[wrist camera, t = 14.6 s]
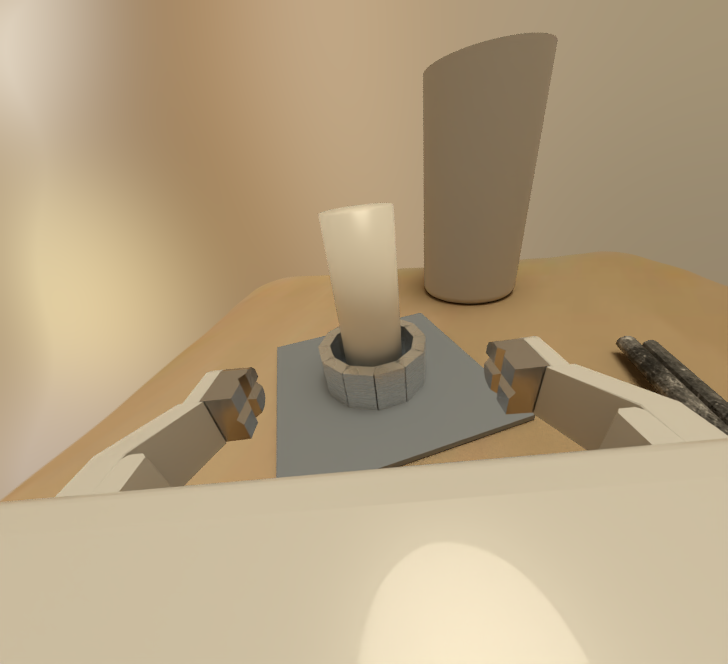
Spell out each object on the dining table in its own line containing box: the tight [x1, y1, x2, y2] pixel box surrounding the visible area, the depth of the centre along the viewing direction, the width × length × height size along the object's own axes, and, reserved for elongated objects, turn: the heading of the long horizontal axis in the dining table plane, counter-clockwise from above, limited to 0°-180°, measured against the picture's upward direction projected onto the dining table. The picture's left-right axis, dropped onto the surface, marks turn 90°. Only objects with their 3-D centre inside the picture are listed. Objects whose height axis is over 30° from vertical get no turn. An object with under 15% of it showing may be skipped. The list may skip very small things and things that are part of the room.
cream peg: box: [318, 203, 402, 367], centre depth 23 cm, size 8×5×14 cm, turn 1°
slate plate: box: [276, 313, 535, 478], centre depth 25 cm, size 18×18×1 cm
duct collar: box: [318, 319, 426, 411], centre depth 24 cm, size 9×9×4 cm
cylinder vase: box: [423, 33, 557, 304], centre depth 34 cm, size 12×12×25 cm
